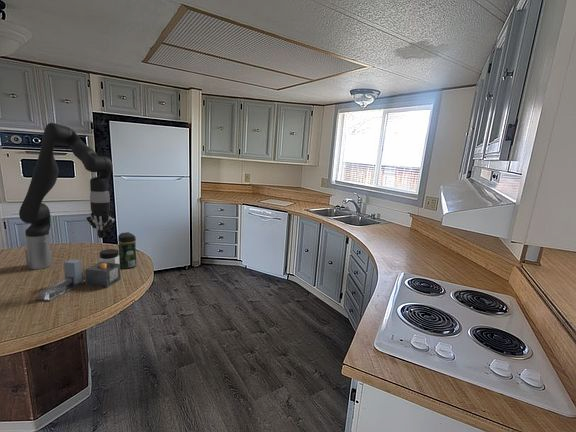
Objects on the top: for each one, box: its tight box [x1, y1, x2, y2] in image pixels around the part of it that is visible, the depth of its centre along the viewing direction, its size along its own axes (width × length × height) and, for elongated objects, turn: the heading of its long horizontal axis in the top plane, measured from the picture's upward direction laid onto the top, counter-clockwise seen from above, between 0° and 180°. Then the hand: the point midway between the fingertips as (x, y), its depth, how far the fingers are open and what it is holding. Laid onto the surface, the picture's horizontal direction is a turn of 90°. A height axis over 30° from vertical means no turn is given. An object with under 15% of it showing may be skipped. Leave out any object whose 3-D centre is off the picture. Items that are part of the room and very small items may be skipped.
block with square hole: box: [85, 262, 122, 288], centre depth 142 cm, size 10×10×8 cm
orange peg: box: [100, 263, 107, 268], centre depth 142 cm, size 3×3×8 cm
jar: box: [98, 248, 120, 264], centre depth 152 cm, size 9×8×12 cm
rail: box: [35, 272, 86, 302], centre depth 132 cm, size 6×21×4 cm, turn 175°
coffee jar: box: [117, 231, 137, 269], centre depth 163 cm, size 10×8×19 cm
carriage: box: [63, 258, 83, 285], centre depth 137 cm, size 5×4×10 cm
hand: (101, 237), depth 138 cm, fingers closed
